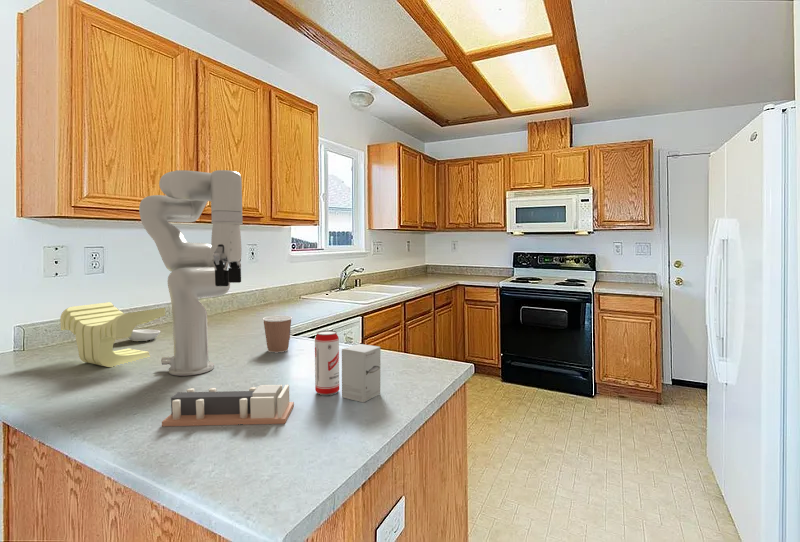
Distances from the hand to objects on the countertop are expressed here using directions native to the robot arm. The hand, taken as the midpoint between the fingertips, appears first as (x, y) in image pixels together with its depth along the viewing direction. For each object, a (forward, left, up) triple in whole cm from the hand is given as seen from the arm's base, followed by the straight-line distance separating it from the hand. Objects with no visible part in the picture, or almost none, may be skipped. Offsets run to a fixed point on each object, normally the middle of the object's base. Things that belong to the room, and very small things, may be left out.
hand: (228, 284), depth 113 cm
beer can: (+26, -4, -28) cm, 39 cm away
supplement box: (+35, -7, -28) cm, 46 cm away
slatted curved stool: (-48, +30, -28) cm, 63 cm away
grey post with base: (+6, -18, -27) cm, 33 cm away
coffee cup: (+3, +41, -28) cm, 50 cm away
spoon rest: (-59, +56, -29) cm, 86 cm away
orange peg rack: (+6, -18, -28) cm, 34 cm away
